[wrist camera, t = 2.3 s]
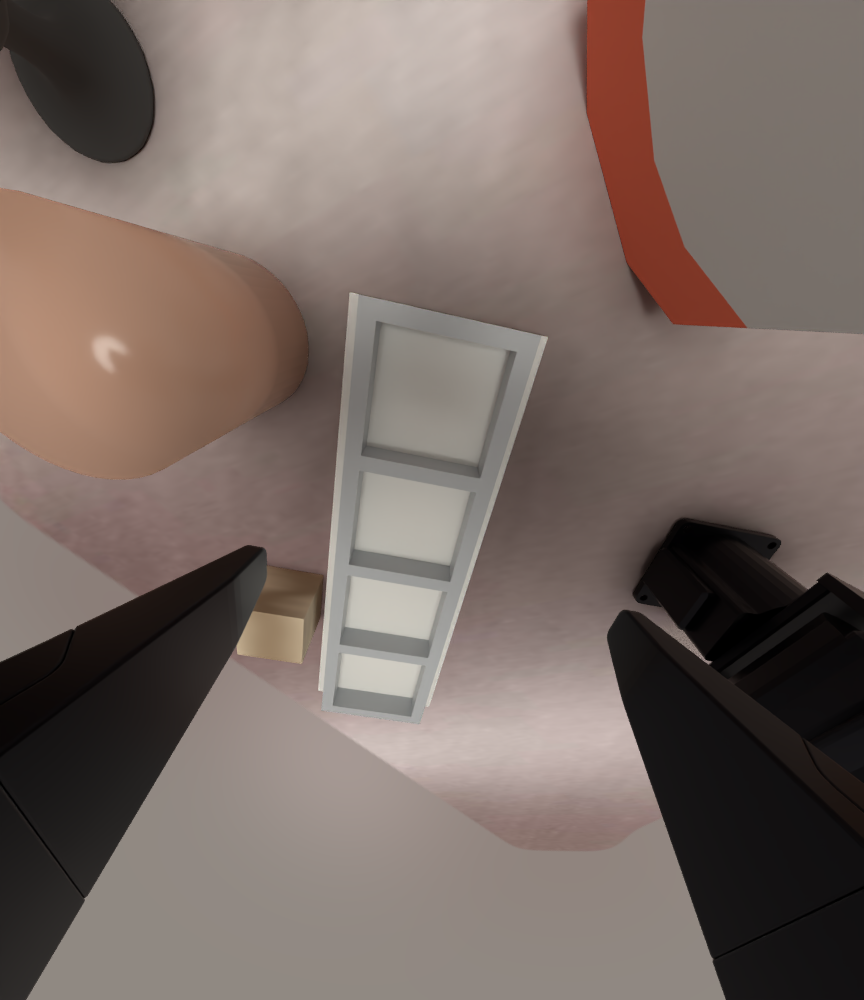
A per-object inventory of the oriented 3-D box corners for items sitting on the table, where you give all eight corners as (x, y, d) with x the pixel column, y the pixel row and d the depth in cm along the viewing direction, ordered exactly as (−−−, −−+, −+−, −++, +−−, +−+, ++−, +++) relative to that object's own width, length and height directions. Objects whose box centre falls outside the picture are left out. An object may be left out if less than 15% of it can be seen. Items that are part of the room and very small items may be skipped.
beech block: (323, 574, 24) (303, 619, 21) (320, 616, 26) (301, 663, 23) (264, 564, 24) (233, 607, 20) (265, 607, 26) (237, 654, 22)
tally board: (542, 335, 17) (557, 339, 15) (429, 694, 30) (428, 725, 28) (354, 293, 16) (341, 290, 14) (321, 679, 29) (312, 709, 27)
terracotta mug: (311, 270, 16) (183, 229, 8) (306, 421, 19) (211, 498, 11) (116, 225, 15) (-233, 132, 7) (144, 389, 19) (-77, 446, 11)
